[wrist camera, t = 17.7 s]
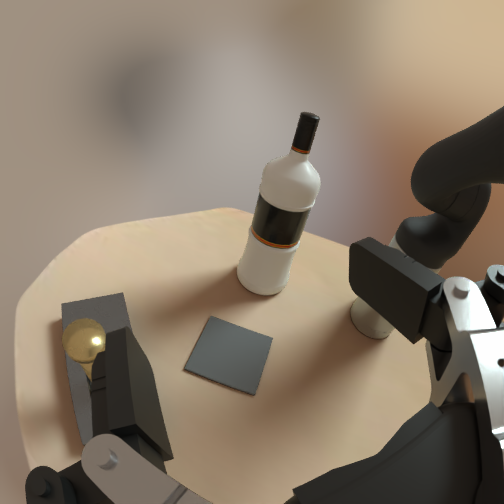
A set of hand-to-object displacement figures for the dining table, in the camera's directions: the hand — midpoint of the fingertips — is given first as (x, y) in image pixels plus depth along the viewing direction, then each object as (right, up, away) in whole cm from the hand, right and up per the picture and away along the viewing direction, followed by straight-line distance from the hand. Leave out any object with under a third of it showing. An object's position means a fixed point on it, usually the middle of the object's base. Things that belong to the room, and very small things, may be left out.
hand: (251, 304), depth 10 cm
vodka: (+2, -3, +44) cm, 44 cm away
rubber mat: (-3, -13, +31) cm, 33 cm away
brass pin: (-18, -16, +22) cm, 33 cm away
